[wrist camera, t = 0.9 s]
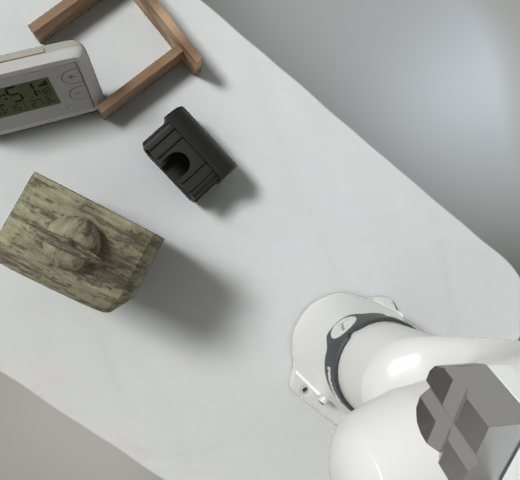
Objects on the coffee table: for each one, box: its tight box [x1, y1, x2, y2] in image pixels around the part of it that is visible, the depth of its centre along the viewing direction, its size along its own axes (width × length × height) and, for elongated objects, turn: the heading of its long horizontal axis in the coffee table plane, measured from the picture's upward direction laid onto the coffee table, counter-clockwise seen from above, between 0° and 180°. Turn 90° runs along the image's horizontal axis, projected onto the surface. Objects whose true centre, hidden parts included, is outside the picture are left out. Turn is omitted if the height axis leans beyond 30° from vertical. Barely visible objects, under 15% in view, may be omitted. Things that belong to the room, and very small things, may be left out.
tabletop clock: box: [0, 172, 164, 312], centre depth 51 cm, size 14×9×25 cm, turn 62°
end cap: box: [143, 106, 236, 202], centre depth 62 cm, size 10×7×7 cm
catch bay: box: [28, 0, 203, 120], centre depth 61 cm, size 18×14×5 cm
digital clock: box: [0, 40, 105, 135], centre depth 57 cm, size 16×9×11 cm, turn 96°
